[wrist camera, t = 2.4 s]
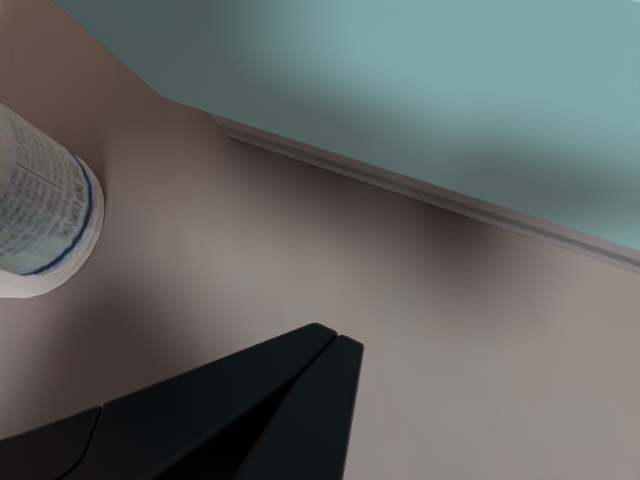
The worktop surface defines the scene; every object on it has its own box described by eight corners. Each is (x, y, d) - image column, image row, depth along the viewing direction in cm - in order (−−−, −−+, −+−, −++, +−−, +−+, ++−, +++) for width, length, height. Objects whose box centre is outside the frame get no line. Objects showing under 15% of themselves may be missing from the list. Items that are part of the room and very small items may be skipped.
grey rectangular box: (769, 317, 15) (878, 284, 11) (227, 136, 20) (178, 75, 17) (836, 74, 16) (951, -27, 12) (313, -30, 22) (286, -120, 18)
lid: (889, 290, 11) (878, 326, 11) (172, 74, 17) (161, 97, 17) (1913, 107, 3) (1904, 231, 3) (-76, -170, 9) (-98, -131, 9)
